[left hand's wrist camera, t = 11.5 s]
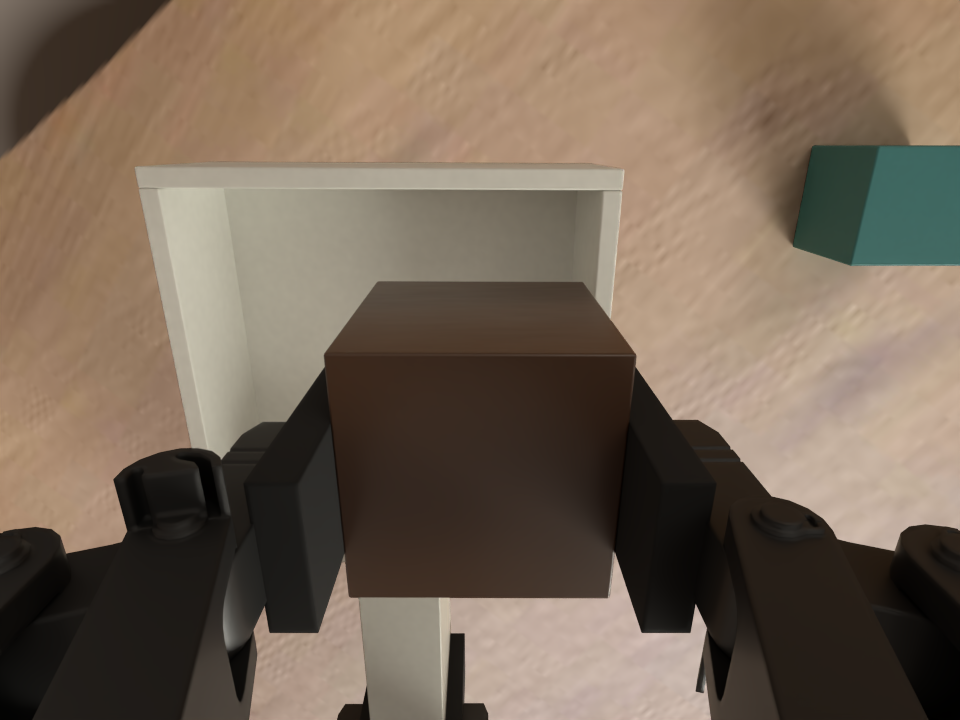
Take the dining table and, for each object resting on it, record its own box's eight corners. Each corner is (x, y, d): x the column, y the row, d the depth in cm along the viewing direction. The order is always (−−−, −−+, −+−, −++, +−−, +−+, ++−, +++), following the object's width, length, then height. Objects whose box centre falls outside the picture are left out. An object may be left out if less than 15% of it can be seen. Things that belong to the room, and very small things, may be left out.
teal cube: (811, 145, 28) (878, 145, 23) (912, 145, 28) (999, 145, 23) (791, 246, 30) (850, 266, 25) (886, 247, 30) (962, 266, 25)
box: (210, 161, 21) (111, 167, 15) (592, 163, 21) (634, 170, 15) (296, 702, 31) (255, 825, 25) (553, 702, 31) (570, 825, 25)
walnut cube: (376, 280, 14) (322, 353, 9) (583, 281, 14) (637, 354, 9) (388, 460, 15) (348, 598, 11) (570, 461, 15) (610, 599, 11)
